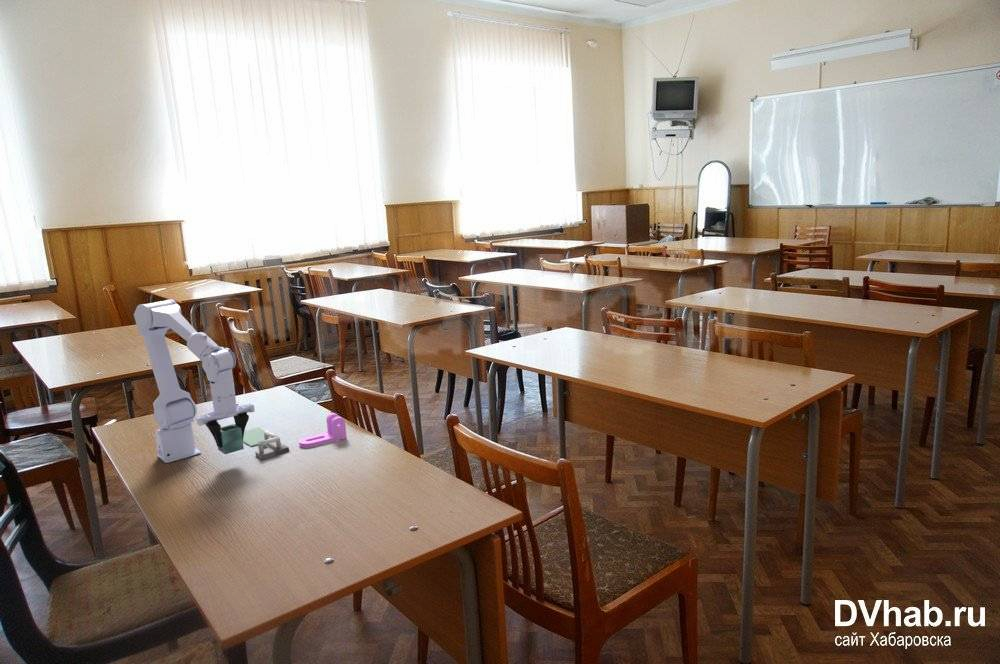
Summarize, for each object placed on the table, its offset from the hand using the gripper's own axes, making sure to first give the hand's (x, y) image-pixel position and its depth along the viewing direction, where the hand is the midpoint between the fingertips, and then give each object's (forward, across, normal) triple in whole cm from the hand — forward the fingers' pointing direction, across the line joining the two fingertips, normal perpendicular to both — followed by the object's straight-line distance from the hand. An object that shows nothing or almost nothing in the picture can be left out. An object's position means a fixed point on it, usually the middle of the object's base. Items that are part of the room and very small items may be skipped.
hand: (230, 443), depth 179 cm
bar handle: (+6, +11, +4) cm, 13 cm away
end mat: (+6, +13, +17) cm, 22 cm away
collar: (+2, 0, 0) cm, 2 cm away
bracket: (+7, +25, -2) cm, 26 cm away
